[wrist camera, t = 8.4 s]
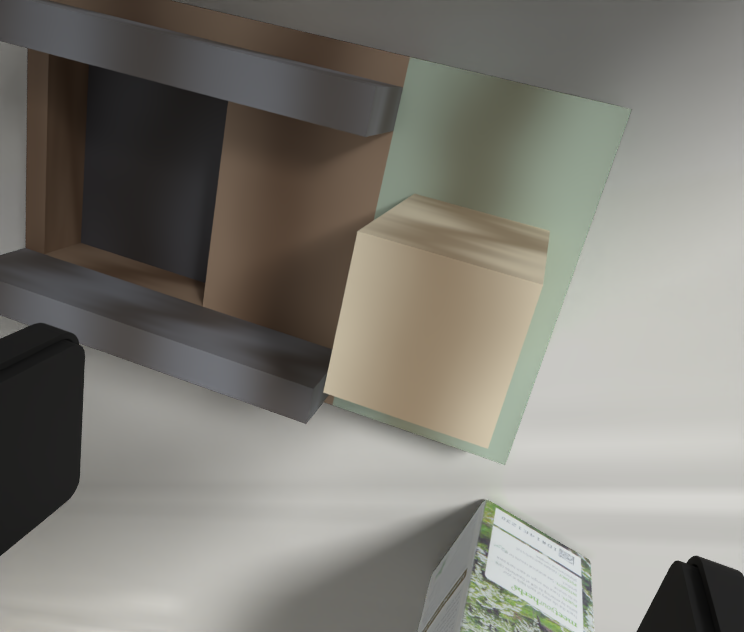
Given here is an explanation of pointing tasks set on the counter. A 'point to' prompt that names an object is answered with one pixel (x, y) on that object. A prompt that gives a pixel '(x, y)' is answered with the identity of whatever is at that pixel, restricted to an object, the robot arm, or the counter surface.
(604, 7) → the counter surface
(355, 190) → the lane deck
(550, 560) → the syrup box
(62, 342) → the robot arm
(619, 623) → the counter surface
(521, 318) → the ash block
